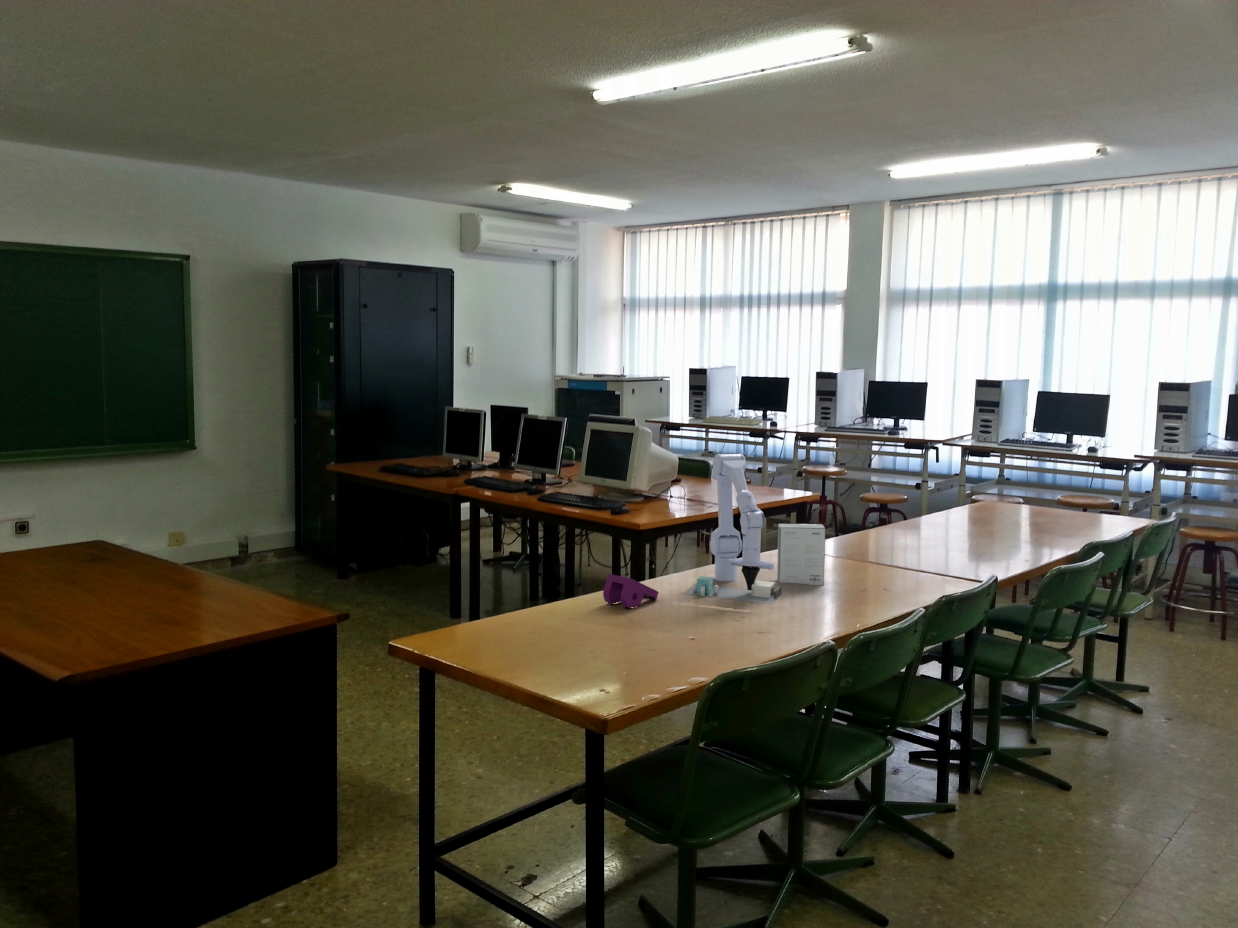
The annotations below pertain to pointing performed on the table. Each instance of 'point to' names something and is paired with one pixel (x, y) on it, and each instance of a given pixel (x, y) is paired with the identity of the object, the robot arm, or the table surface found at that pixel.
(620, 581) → the mounting bracket
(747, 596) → the base plate
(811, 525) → the hard drive box
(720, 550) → the robot arm
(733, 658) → the table surface
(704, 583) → the teal block
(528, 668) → the table surface
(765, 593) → the block
